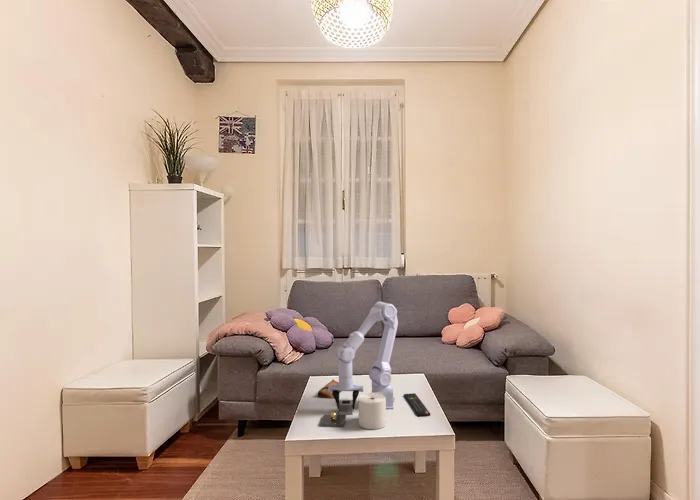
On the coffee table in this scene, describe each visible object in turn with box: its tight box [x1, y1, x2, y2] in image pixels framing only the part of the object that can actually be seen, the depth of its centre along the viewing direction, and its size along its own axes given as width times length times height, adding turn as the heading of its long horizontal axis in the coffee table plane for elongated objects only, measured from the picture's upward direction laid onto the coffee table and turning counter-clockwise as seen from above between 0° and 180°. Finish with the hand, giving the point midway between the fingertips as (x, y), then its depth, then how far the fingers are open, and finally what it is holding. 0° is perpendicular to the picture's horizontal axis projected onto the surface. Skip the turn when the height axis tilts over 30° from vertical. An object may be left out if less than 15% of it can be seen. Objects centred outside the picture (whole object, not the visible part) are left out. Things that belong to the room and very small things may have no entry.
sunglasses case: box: [317, 378, 342, 400], centre depth 200 cm, size 18×7×7 cm
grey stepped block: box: [338, 399, 354, 416], centre depth 175 cm, size 6×6×4 cm
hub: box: [319, 411, 347, 428], centre depth 166 cm, size 9×9×4 cm
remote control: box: [403, 393, 431, 418], centre depth 181 cm, size 5×24×1 cm, turn 6°
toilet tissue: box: [357, 392, 387, 430], centre depth 164 cm, size 11×12×10 cm
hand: (346, 408), depth 175 cm, fingers closed on grey stepped block, 6 cm apart
